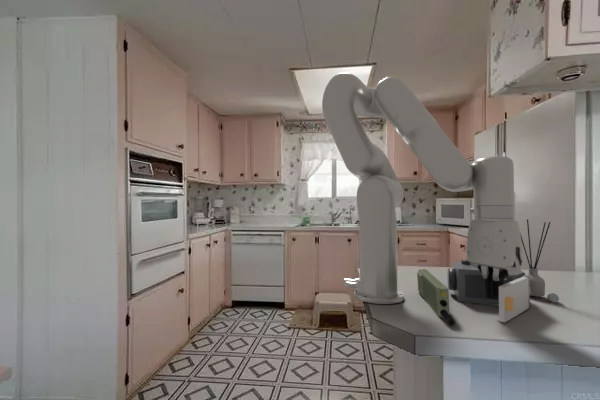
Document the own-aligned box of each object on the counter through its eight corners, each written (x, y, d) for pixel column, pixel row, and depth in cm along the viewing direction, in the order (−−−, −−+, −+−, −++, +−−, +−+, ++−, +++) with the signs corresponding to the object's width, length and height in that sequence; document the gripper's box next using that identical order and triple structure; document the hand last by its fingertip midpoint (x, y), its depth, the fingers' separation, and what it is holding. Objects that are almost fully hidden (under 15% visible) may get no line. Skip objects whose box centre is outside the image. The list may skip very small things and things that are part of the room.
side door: (524, 306, 72) (524, 275, 72) (535, 308, 70) (535, 276, 70) (498, 320, 63) (498, 285, 63) (510, 324, 61) (509, 287, 61)
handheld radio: (430, 293, 85) (461, 329, 60) (417, 293, 85) (443, 329, 61) (428, 268, 85) (459, 294, 60) (416, 268, 85) (441, 294, 61)
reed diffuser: (509, 293, 83) (508, 219, 84) (526, 290, 86) (525, 218, 86) (552, 304, 74) (551, 220, 74) (569, 301, 76) (568, 220, 77)
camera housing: (451, 300, 77) (450, 264, 77) (447, 290, 86) (446, 257, 87) (525, 307, 72) (525, 268, 72) (512, 295, 81) (512, 261, 81)
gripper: (452, 213, 73) (453, 290, 73) (517, 215, 59) (519, 310, 59) (474, 212, 76) (475, 287, 76) (541, 214, 62) (543, 305, 62)
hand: (494, 297), depth 67 cm, fingers closed
